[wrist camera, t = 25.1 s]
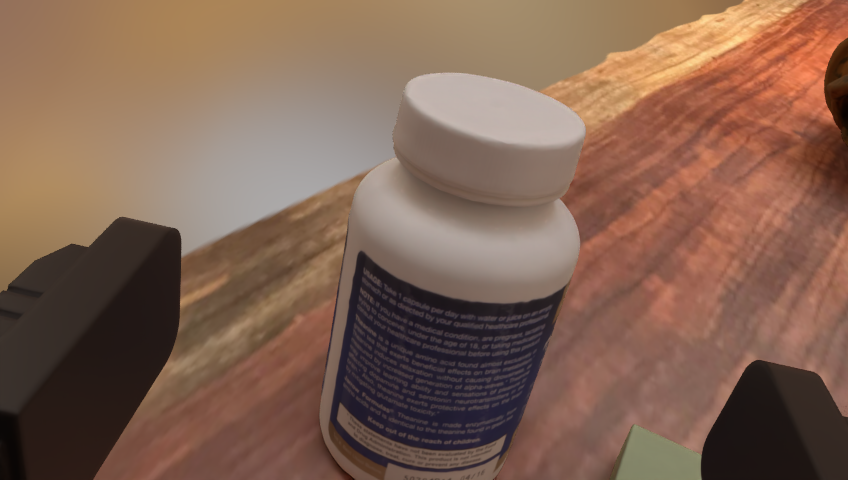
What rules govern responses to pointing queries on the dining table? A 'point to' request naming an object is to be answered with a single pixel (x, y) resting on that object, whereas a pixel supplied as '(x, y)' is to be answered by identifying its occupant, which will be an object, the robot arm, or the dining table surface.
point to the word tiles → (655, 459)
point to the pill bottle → (451, 281)
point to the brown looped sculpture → (838, 87)
